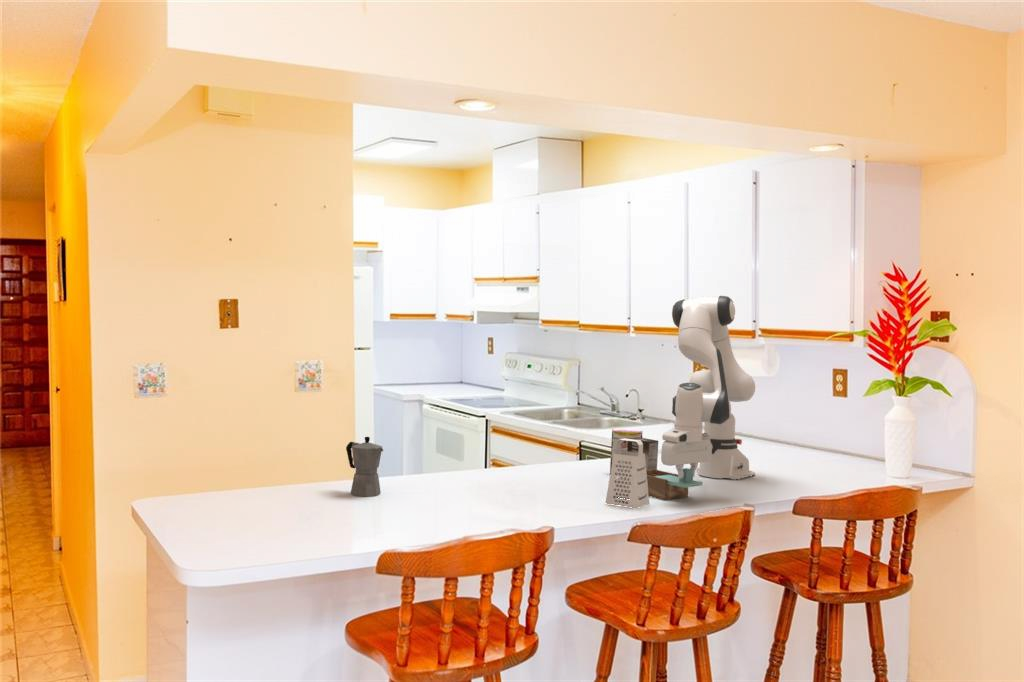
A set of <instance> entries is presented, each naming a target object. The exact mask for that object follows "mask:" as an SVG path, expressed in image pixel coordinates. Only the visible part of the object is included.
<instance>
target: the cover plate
mask: <svg viewBox="0 0 1024 682" xmlns="http://www.w3.org/2000/svg"><path fill="white" fill-rule="evenodd" d="M682 469H683V472H684V473H685V478H678V477H677V476H673V475H663V476H655V477H658V478H662V479H667V484H670V485H675V486H679V487H683V488H687V487H688V488H693V487H702V486H703V481H698V480H694V477H693V470H692V469H690V468H687V467H685V468H684V467H683V468H682Z"/></svg>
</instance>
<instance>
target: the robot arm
mask: <svg viewBox="0 0 1024 682" xmlns="http://www.w3.org/2000/svg"><path fill="white" fill-rule="evenodd" d="M671 309H672V310H671V315H672V316H671V318H672V322H673V325H675V326H676V327H677V328H678V335H677V336H678V337H677V343H678V349H679V351H680V353H681V354H682V355H683V356H684V357H685V358H687V359H688V360H690V361H691V362H695V363H697V364H699V365H702V366H704V367H706V368H707V369H701V370H695V371H694V372H693V373H692V374H691V376H690V378H689V381H688V382H683V383H680V384H679V385H678V386H677V391H676V394H675V396H673V397H672V408H671V409H672V411H671V414H672V415H673V416H674V417H675V420H674V427H672V428H671V429H669V430H667V431H666V432H664V433H663V434H662V435H661V436H662V440H663V442H662V444H661V453H660V460H661V463H662V464H663V465H664V466H669V467H672V466H675V469H676V471H677V474H678V478H685V473H684V472H683V468H684V467H685V466H684V465H690V467H689V469H692V470H693V478H694V477H695V473H696V471H697V475H700V476H703V477H704V478H705V477H706V478H712V479H722V478H731V479H730V480H736V479H738V480H740V479H739V478H742V479H744V478H743V477H746V478H748V477H747V476H750V477H752V476H751V475H754V476H756V475H755V474H756V472H755V471H752V470H750V461H749V459H748V457H747V456H746V455H745V454H743V452H742V451H741V450H739V448H738V447H739V446H738V445H742V443H743V439H742V438H741V439H740V438H736V433H735V432H736V418H735V416H734V414H733V413H732V404H731V402H733V403H740V402H748V401H750V400H751V399H752V398H753V396H754V394H755V392H756V384H755V383H756V382H755V380H754V378H753V377H752V376H751V375H750V374H748V373H747V372H745V370H744V369H743V368H742V367H741V366H740V364H739V363H738V361H737V360H736V358H735V355H734V353H733V347H732V344H731V343H732V342H731V339H730V334H729V333H730V331H729V328H728V327H729V326H728V325H730V324H732V323H733V322H734V321H735V320H734V319H735V315H736V307H735V304H734V301H733V300H732V298H731V297H729V296H728V295H719V296H713V295H712V296H710V295H708V296H706V295H705V296H701V297H700V296H699V297H693V298H688V299H681V300H680V299H679V300H678V301H676V302H675V303H674V304H673V306H672V308H671ZM703 423H704V424H703ZM703 425H704V428H703ZM703 429H704V430H703ZM698 465H699V467H698Z"/></svg>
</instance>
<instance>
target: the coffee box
mask: <svg viewBox="0 0 1024 682" xmlns="http://www.w3.org/2000/svg"><path fill="white" fill-rule="evenodd" d="M629 439H634V440H641V442H642V443H643V453H645V461H646V470H649V469H656V470H658V457H659V440H658V439H657V440H656V439H650V438H646V437H642V438H640V437H636V438H629ZM627 451H628V452H637V453H638V451H639V445H638V443H637V442H635V441H628V447H627Z"/></svg>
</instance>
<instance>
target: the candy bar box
mask: <svg viewBox="0 0 1024 682" xmlns="http://www.w3.org/2000/svg"><path fill="white" fill-rule="evenodd" d="M636 437H640V438H643V431H642V430H636V429H621V428H619V429H618V428H617V429H616V428H612V429H611V441H610V443H611V444H610V445H611V447H610V461H609V462H610V463H609V465H610V466H609V474H610V473H611V467H612V461H613V456H614V454H615V453H616V444H617V442H618V441H619V440H620V439H624V438H625V439H629V438H636ZM627 447H628V441H626V440H622V441H621V451H627ZM619 466H620V465H619ZM616 467H618V466H616Z"/></svg>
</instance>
